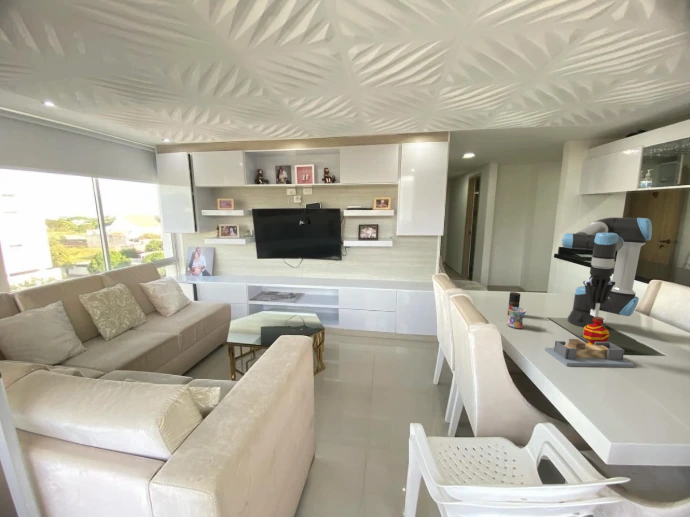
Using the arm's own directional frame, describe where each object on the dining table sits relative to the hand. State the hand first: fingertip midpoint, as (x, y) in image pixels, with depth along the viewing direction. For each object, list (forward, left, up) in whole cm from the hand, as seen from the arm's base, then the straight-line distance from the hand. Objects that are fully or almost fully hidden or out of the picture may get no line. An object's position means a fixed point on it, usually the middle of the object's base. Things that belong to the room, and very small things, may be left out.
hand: (594, 315), depth 130 cm
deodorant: (+8, -50, -20) cm, 54 cm away
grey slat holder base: (+4, +4, -19) cm, 20 cm away
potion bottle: (-10, -9, -20) cm, 24 cm away
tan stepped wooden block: (+5, +4, -18) cm, 19 cm away
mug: (+16, -33, -20) cm, 41 cm away
